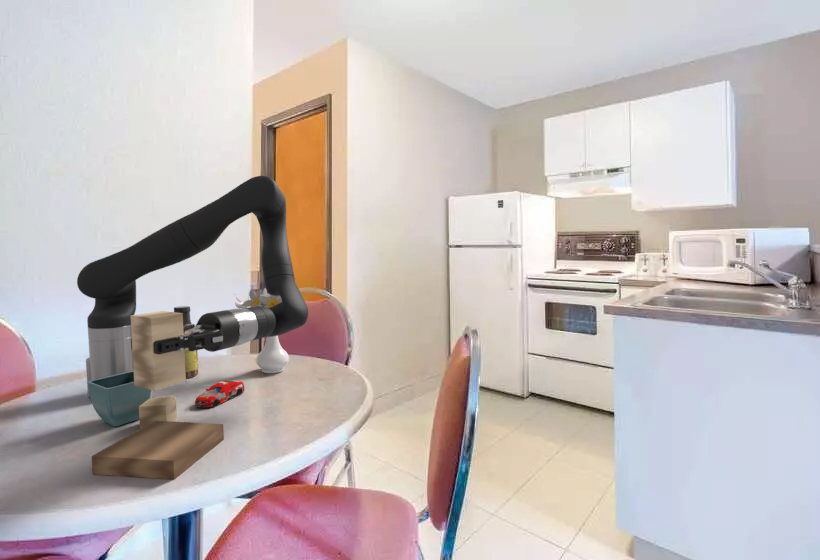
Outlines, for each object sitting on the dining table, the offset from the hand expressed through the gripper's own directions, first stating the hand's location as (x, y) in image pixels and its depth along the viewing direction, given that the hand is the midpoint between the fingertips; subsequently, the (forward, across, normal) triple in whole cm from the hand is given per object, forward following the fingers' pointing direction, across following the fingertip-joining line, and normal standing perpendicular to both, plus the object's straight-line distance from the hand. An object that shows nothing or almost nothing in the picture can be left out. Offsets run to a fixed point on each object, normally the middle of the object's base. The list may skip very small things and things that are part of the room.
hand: (143, 346), depth 70 cm
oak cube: (-10, -14, +20) cm, 26 cm away
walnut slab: (-2, 0, +20) cm, 20 cm away
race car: (-26, -15, +20) cm, 36 cm away
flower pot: (-8, -22, +20) cm, 31 cm away
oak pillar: (-3, 0, +7) cm, 7 cm away
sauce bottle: (-35, -40, +20) cm, 56 cm away
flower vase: (-49, -21, +20) cm, 57 cm away
